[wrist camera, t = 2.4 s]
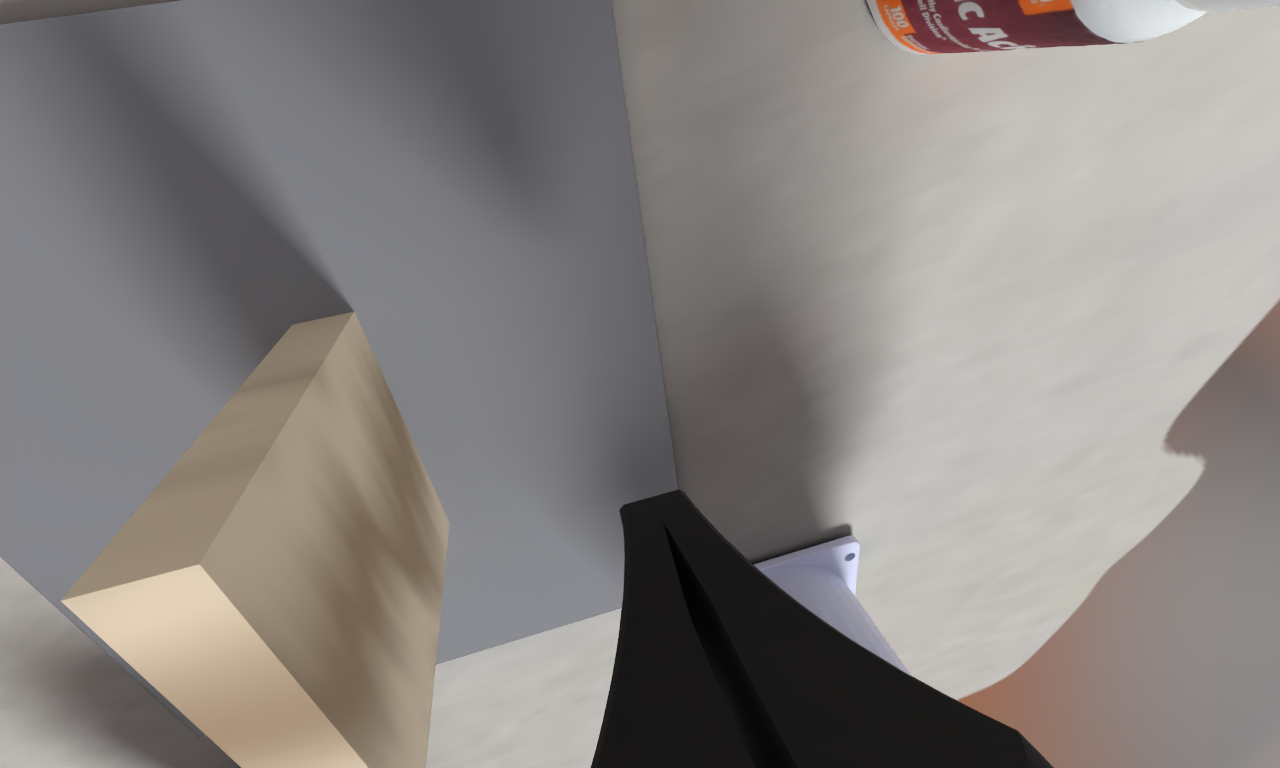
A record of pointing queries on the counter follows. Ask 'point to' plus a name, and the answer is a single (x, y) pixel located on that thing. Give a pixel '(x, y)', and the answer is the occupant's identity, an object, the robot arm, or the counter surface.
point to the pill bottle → (1035, 22)
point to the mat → (333, 272)
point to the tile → (288, 568)
